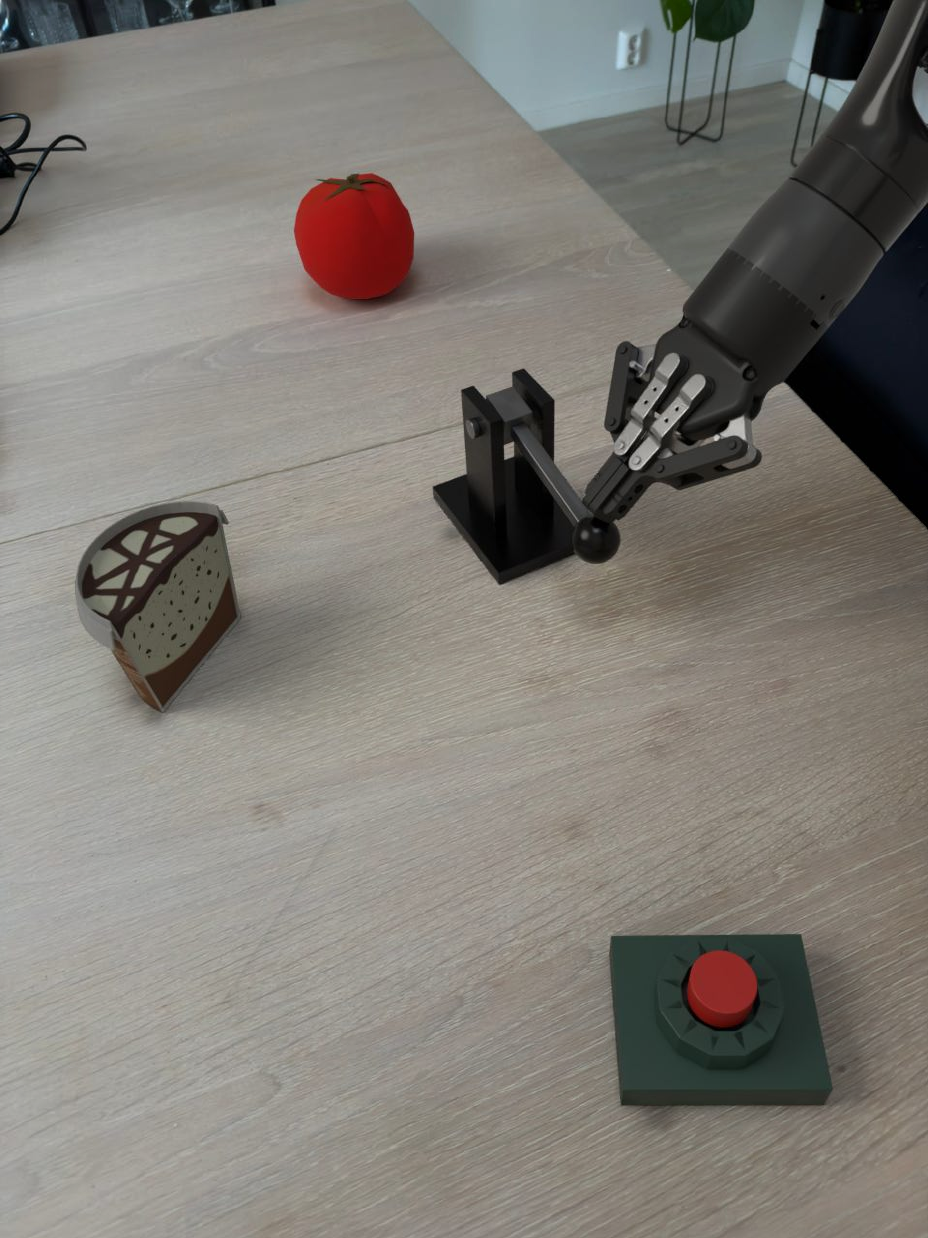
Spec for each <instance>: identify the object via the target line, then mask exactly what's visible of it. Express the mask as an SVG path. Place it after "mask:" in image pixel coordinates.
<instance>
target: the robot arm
mask: <svg viewBox="0 0 928 1238" xmlns="http://www.w3.org/2000/svg"><path fill="white" fill-rule="evenodd" d="M918 68H920V69H922V70H923V72H925V74H927V75H928V0H893V1H892V2H891V4H890V7H889V9H888V12H887V14H886V16H885V19H884V22H883V24H882V26H881V29H880V31H879V34H878V36H877V38H876V41H875V42H874V44H873V46H872V49H871V51H870V53H869V56H868V58H867V60H866V62H865V63H864V66H863V67H862V70H861V71H860V73H859V75H858V77H857V79H856V81H855V83H854V84H853V86H852V88H851V90H850V92H849V94H848V95H847V97H846V98H845V100H844V101H843V103H842V105H841V107H839V110H838V111H837V113H836V114H835V115H834V116H833V118H832V120H831V121H830V122H829V123H828V125H827V126H826V127H825V129H824V130H823V132H822V133H821V135H820V136H819V137H818V138H817V140H816V141H815V142H814V143H813V144H812V146H811V147H810V148H809V150H808V151H807V152H806V153H805V155H804V156H803V157H802V159H801V160H800V161H799V163H798V164H797V165H796V167H795V168H794V169H793V170H792V172H791V173H790V174H789V176H788V178H786V179H785V180H784V181H783V183H782V184H781V185H780V186H779V187H778V188H777V189H776V190H775V192H774V193H772V195H770V196H769V197H768V198H767V200H765V201H764V203H762V204H761V205H760V207H758V209H757V210H756V211H755V212H754V213H753V215H752V216H750V218H749V220H748V221H747V222H746V223H745V225H744V226H743V227H742V228H741V230H740V231H739V232H738V234H737V235H736V236H735V237H734V239H733V240H732V242H731V243H730V244H729V245H728V247H727V248H726V249H725V250H724V251H723V253H722V254H721V256H720V257H719V258H718V259H717V261H716V262H715V263H714V265H712V267H711V268H710V270H709V271H708V272H707V273H706V275H705V276H704V278H703V279H702V280H701V282H700V283H699V284H698V285H697V286H696V287H695V289H694V291H693V292H692V293H691V294H690V295H689V297H688V298H687V299H686V301H685V302H684V304H683V305H682V317H681V319H680V321H678V323H677V324H676V325H675V326H674V327H673V328H671V329H669V330H667V331H666V332H664V333H663V334H661V336H660V337H659V338H658V340H657V342H656V343H654V344H649V345H642V346H636V345H634V344H633V343H631V342H630V341H628V340H625V341H622V342H620V343H619V344H618V345H617V347H616V350H615V355H614V356H615V357H614V361H613V367H612V373H611V379H610V385H609V392H608V397H607V404H606V410H605V416H604V421H603V426H604V429H605V431H607V432H609V433H610V436H611V439H612V441H613V448H612V453H611V454H610V456H609V457H608V459H607V460H605V462H604V463H603V464H602V465H601V467H600V468H599V469H598V471H597V472H596V474H595V475H594V476H593V478H592V479H591V480H590V481H589V482H588V484H587V485H586V488H585V490H584V493H585V495H584V496H583V497H582V499H581V501H582V504H583V505H584V506H585V507H586V508H587V509H588V511H589V512H590V514H591V515H594V516H595V517H596V518H597V519H600V520H602V521H604V522H606V523H612V522H614V523H615V521H618V522H619V521H620V520H621V519H623V518H625V517H626V516H627V515H628V514H629V512H630V511H631V509H633V507H634V506H635V504H636V503H638V501H639V500H640V499H641V498H642V496H644V494H645V493H646V491H647V490H648V489H649V488H650V487H651V486H652V485H654V484H657V483H661V484H663V485H667V486H670V487H672V489H675V490H677V491H682V490H683V491H684V490H687V489H689V488H692V487H696V486H699V485H703V484H706V483H709V482H712V481H715V480H718V479H719V480H720V479H723V478H725V477H728V476H732V475H735V474H739V473H741V472H745V471H748V470H751V469H754V468H757V466H759V465H760V463H761V461H762V459H763V454H762V451H761V450H759V449H758V448H757V447H755V446H754V438H753V428H752V422H753V421H754V420H755V419H756V418H757V417H758V416H759V414H760V412H761V409H762V407H763V403H764V401H765V398H766V396H767V395H768V393H769V392H770V391H771V390H772V389H773V388H774V387H777V386H779V385H781V384H783V383H784V382H785V381H786V379H787V378H788V377H789V376H790V375H791V373H792V372H793V371H794V370H795V369H796V368H797V366H798V365H799V364H800V363H801V362H802V361H803V359H804V358H805V357H806V356H807V354H808V353H809V352H810V351H811V350H812V349H813V347H814V346H815V345H816V344H817V343H818V342H819V340H820V339H821V338H822V336H823V335H824V334H825V333H826V332H827V330H828V329H829V328H830V327H831V325H832V324H833V323H834V322H835V320H836V319H837V318H838V317H839V316H840V315H841V314H842V312H843V311H844V310H845V309H846V308H847V307H848V305H850V303H851V302H852V301H853V299H854V298H855V297H856V296H857V294H858V293H859V292H860V290H861V289H862V288H863V286H864V284H865V283H866V282H867V280H868V279H869V277H870V275H871V274H872V272H873V271H874V270H875V268H876V266H877V264H878V263H879V262H880V260H882V258H883V256H884V254H885V253H886V252H887V251H889V249H890V248H891V247H892V246H893V244H895V242H896V241H897V240H898V239H899V237H900V236H901V235H902V233H904V231H905V230H906V229H907V228H908V227H909V225H910V224H911V223H912V221H913V220H914V219H915V218H916V217H917V216H918V214H919V213H920V212H921V211H922V209H924V207H925V206H926V205H927V204H928V124H927V123H926V122H925V120H924V118H923V117H922V115H921V113H920V112H919V109H918V108H917V105H916V102H915V98H914V84H915V78H916V74H917V70H918ZM656 414H658V415H659V416H658V417H656V416H655V415H656ZM710 438H712V441H711V442H708V443H705V444H703V443H704V442H705V441H706V440H707V439H710Z"/></svg>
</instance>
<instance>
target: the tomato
mask: <svg viewBox="0 0 928 1238" xmlns="http://www.w3.org/2000/svg"><path fill="white" fill-rule="evenodd" d="M314 180H315V181H320V183H318V184H317V185H315V186H313V187H311V188H310V189H309V190H308V191H307V193H305V195H304V196H303V197H302V198H301V200H300V203H299V205H298V208H297V210H296V213H295V219H294V227H293V235H294V240H295V245H296V248H297V251H298V254H299V258H300V260H301V264H302V266H303V269H304V271H305V272H306V274H308V275H309V277H310V278H311V279H312V280H313V281H314V282H315V284H317V285H318V286H319V287H320V289H322V290H323V291H326V292H327V293H329V294H330V295H332V296H335V297H339V298H342V299H349V300H369V299H372V298H378V297H382V296H387V295H388V294H389V293H391V292H392V291H394V289H395V288H397V287H398V286H399V285H401V284H402V283H403V282H404V281H405V279H406V278H407V276H408V275H409V273H410V269H411V267H412V263H413V261H414V256H415V255H414V254H415V253H414V252H415V230H414V225H413V221H412V218H411V215H410V212H409V209H408V208H407V207H406V206H405V204H404V203H403V200H402V199H401V196H399V194H398V192H397V190H396V189H395V187H394V186H393V184H392V183H391V182H390V181H389V180H387V179H385V178H384V177H382V176H380V175H377V174H375V173H373V172H370V173H360V172H358V173H352V174H350V175H348V176H346V178H345V179H344V178H335V177H329V178H327V179H323V178H322V179H320V178H316V179H314Z"/></svg>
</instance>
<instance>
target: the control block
mask: <svg viewBox="0 0 928 1238" xmlns="http://www.w3.org/2000/svg"><path fill="white" fill-rule="evenodd" d="M802 937H803V936H802V934H801V933H779V934H778V933H773V934H770V933H769V934H765V933H764V934H763V933H762V934H674V935H673V934H670V935H667V934H665V935H663V934H661V935H660V934H659V935H657V934H655V935H653V934H652V935H649V934H648V935H611V936H610V942H609V953H608V956H609V957H608V958H609V969H610V982H611V983H610V984H611V994H612V1009H613V1022H614V1023H613V1024H614V1034H615V1035H614V1036H615V1048H616V1049H615V1050H616V1060H617V1061H616V1062H617V1076H618V1086H619V1099H620V1100H619V1101H620V1105H621V1106H824V1105H826V1103H827V1101H828V1099H829V1097H830V1096H831V1093H832V1091H833V1089H834V1088H833V1083H832V1079H831V1074H830V1069H829V1064H828V1059H827V1053H826V1049H825V1043H824V1041H823V1034H822V1029H821V1025H820V1019H819V1015H818V1014H819V1013H818V1009H817V1004H816V999H815V995H814V990H813V985H812V980H811V975H810V970H809V966H808V961H807V957H806V951H805V946H804V941H803V938H802ZM712 951H728V952H731V953H734V954H736V955H738V956H740V957H741V958H742V959H744V960H745V961H746V962H747V963H748V964H749V965H750V967H751V968H752V970H753V971H754V973H755V976H756V979H757V994H756V997H755V1000H754V1003H753V1006H752V1009H751V1012H750V1013H749V1015H748V1017H747V1018H746V1019H745V1020H744V1021H743V1022H741V1023H740V1024H738V1025H736V1026H733V1027H728V1028H720V1027H715V1026H712V1025H709V1024H707V1023H705V1022H704V1021H702V1020H701V1019H700V1018H699V1017H698V1016H697V1015H696V1014H695V1013H694V1012H693V1010H692V1009H691V1007H690V1005H689V1002H688V998H687V987H688V982H689V978H690V973H691V969H692V967H693V965H694V963H695V962H696V961H697V959H698V958H700V957H701V956H702V955H704V954H706V953H708V952H712Z"/></svg>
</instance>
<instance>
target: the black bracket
mask: <svg viewBox="0 0 928 1238" xmlns="http://www.w3.org/2000/svg"><path fill="white" fill-rule="evenodd" d="M511 379H512V380H511V387H512V386H514V387H515V389H516V390H517V391H518V393H519V394H520V396H521V397H522V398H523V400H524V401H525V402H526V404H527V405H528V407H529V408H530V409H531V411H532V421H531V431H532V433H533V434H534V436H535V437H536V438H537V440H538V441H539V443H540V444H541V445H542V447H543V448H544V449H545V451H546V452H547V454H548V455H549V456H550V458H551V459H552V461H553V462H554V463H555V411H556V408H555V406H556V403H555V402H556V401H555V399H554V398H553V396H552V395H550V393H548V391H546V389H545V388H544V387H543V386H541V384H540V383H539V382H538V381H537V380H536V379H535V378H534V377H533V376H532V375H531V374H530V373H529V371H528V370H526V368H524V367H523V368H520V369H517V370H514V371H512V372H511ZM460 396H461V397H460V398H461V410H462V425H463V439H464V442H463V443H464V454H465V455H464V456H465V470H466V473H465V474H463V475H459V476H457V477H455V478H451V479H449V480H447V481H443V482H441V483H438V484H436V485H432V497H433V499H434V501H435V502H436V503H437V504H438V506H439V507H440V508H441V510H442V511H443V512H444V514H445V515H446V516H447V518H448V519H449V521H450V522H451V523H452V525H453V526H454V527H455V528H456V530H457V531H458V532H459V534H460V535H461V536H462V538H463V539H464V540H465V542H466V544H468V545H469V547H470V549H471V550H473V552H474V553H475V555H476V556H477V558H478V559H479V560H480V562H481V563H482V564H483V566H484V567H485V568H486V569H487V571H488V572H489V573H490V575H491V576H492V578H493V579H494V580H495V581H496V583H497V585H502V584H505V583H507V582H510V581H512V580H514V579H517V578H519V577H522V576H524V575H527V574H530V573H532V572H534V571H537V570H539V569H542V568H544V567H546V566H549V565H551V564H553V563H554V564H555V563H556V562H559V561H561V560H564V559H566V558H569V557H571V556H573V555H576V554H575V552H574V550H573V548H572V545H571V534H572V531H573V529H574V526H573V525H572V523H571V522H570V520H569V519H568V517H567V516H566V515H565V513H564V512H563V510H562V509H561V507H560V506H559V505H558V503H557V502H556V500H555V499H554V498H553V496H552V495H551V493H550V492H549V490H548V489H547V488H546V486H545V485H544V483H543V482H542V480H541V479H540V478H539V476H538V475H537V473H536V472H535V470H534V469H533V468H532V466H531V465H530V463H529V462H528V460H527V459H526V458H525V456H524V455H523V453H522V452H521V451H520V449H519V448H518V446H517V445H516V443H515V442H513V456H510V457H508V458H505V445H504V431H503V418H502V417H501V416H500V415H499V413H498V412H497V411H496V410H495V409H494V408H493V407H492V406H491V405H490V403H489V402H488V401H487V400H486V397H484V396H483V394H482V393H481V392H480V391H479V390H478V389H477V388H476V386H475V385H471V386H468V387H465V388H461V389H460Z"/></svg>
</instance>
